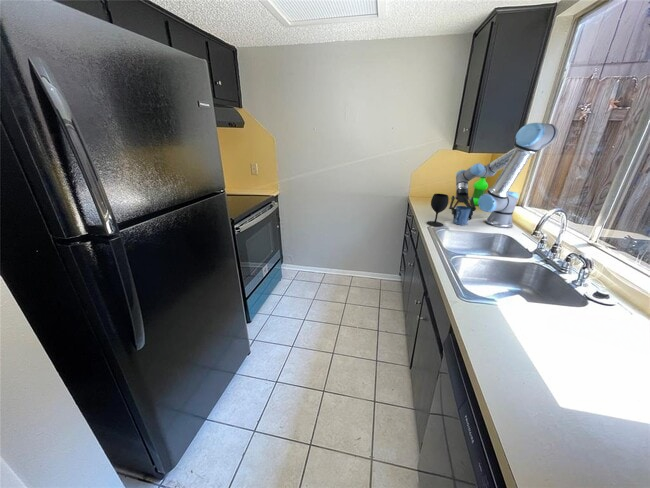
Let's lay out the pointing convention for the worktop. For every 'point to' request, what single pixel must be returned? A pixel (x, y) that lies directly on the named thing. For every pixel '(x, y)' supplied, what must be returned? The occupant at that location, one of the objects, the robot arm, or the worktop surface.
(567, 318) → the worktop surface
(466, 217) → the mug
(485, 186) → the plastic bottle
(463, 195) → the robot arm
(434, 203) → the wine glass
